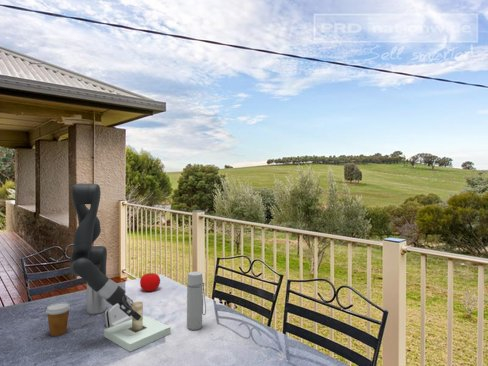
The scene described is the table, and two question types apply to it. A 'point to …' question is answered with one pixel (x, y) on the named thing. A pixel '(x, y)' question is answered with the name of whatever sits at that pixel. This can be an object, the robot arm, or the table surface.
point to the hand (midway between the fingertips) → (138, 314)
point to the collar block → (133, 340)
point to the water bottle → (195, 300)
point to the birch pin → (138, 324)
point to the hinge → (116, 316)
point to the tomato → (149, 282)
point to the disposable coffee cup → (58, 318)
